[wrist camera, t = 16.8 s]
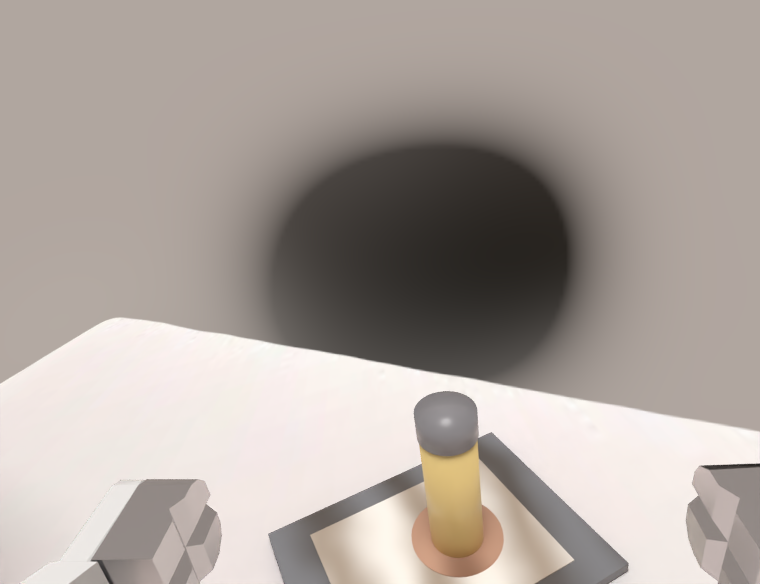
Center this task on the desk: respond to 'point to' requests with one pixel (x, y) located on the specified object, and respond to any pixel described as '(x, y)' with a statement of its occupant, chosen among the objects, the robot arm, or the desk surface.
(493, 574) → the grey metal tray
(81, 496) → the desk surface
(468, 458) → the marker
